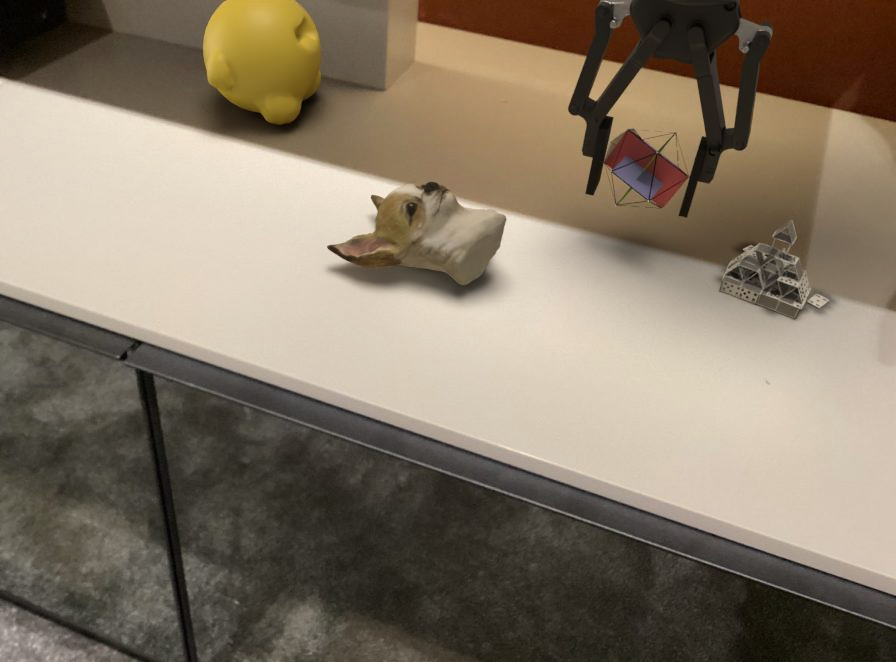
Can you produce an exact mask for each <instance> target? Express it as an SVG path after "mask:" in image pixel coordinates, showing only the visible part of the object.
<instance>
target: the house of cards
mask: <svg viewBox="0 0 896 662" xmlns="http://www.w3.org/2000/svg"><path fill="white" fill-rule="evenodd" d="M785 229H787V230H788V233H786V232H783V231H784V230H785ZM771 238H772V239H773V241H772V244H771V246H770V245H768V244H765V243H762V242H758V244H756V245H755V246H753V245H752V244H750V245H748V246H746V247H744V248H742V250H743V252H742V253H741V254H739V255H738V256H736V257H735V258H731V260H730V262H729V263H728V265H727V266H726V267H725V272H724V274H723V277H722V278H721V281H722V282H721V283H720V284H721V285H720V287H719V290H718V292H723V293H725V294H727V295H730V296H733V297H736V298H738V299H741V300H744V301H747V302H749V303H752V304H754V305H758V306H761V307H763V308H766V309H769V310H772V311H774V312H776V313H778V314H780V315H781V314H782V315H784V316H787V317H790V318H791V319H794V320H795V319H796V317H797V316H798V313H799V312H800V310H801V311H803V309H804V308H805V306H806V303H809V304H810V305H812V306H814V307H816V308H818V309H821V308H822V307H823V306H825V305H826V304H827V303H828V302H830V299H828V298H826V297H824V296H822V294H819V293H815V294H814V295H812V296H811V297H810V298H809V297H808V296H809V294H810V292H811V289H812V286H810V282H809V278H808V273H807V270H805V269H803V267H802V264H801V260H800V257H798V256H796V255H793V254H790V253H789V251H790V249H791V247H792V246H794V244H795V242H796V240H797V238H798V236H797V233H796V229H795V225H794V221H793V219H791V220H789V221H788V222H786V223H785V224H784V225H782V226H781V227H779V228H778V229H775V231H774V232H773V234H772V236H771ZM777 240H778V241H781V242H784V243H786V244H789V246H788V248H787V250H786V247H783V248H782V249H779V248H777V247H774V246H775V243H776V241H777ZM766 255H768V256H766Z"/></svg>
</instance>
